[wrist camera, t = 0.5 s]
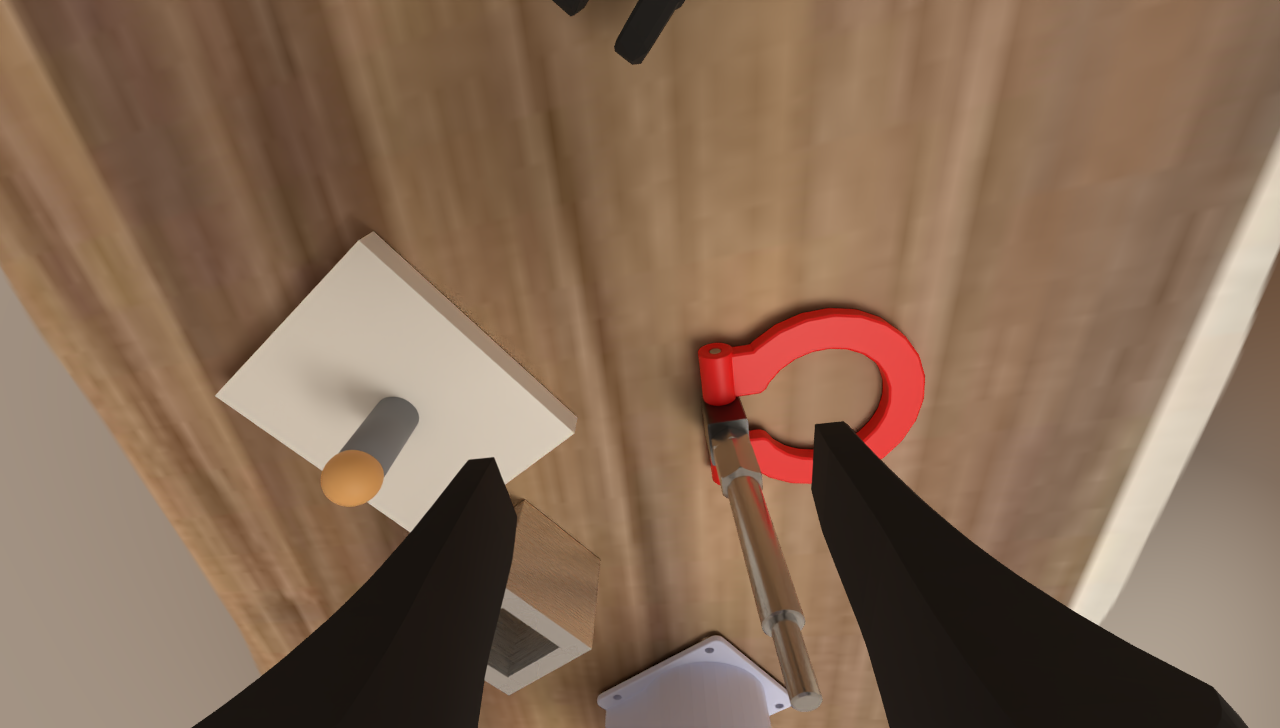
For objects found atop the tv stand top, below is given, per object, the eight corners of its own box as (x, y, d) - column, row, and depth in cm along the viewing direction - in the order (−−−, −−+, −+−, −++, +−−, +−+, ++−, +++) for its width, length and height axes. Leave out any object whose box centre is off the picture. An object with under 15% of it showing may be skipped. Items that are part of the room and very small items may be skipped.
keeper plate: (434, 525, 28) (382, 637, 22) (233, 381, 24) (113, 474, 19) (577, 417, 25) (557, 518, 19) (373, 231, 21) (276, 291, 15)
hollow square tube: (528, 604, 31) (508, 695, 26) (453, 550, 29) (417, 639, 24) (600, 559, 29) (592, 649, 25) (525, 499, 27) (501, 584, 23)
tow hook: (921, 288, 22) (690, 323, 23) (1239, 525, 11) (765, 588, 11) (904, 454, 26) (709, 482, 27) (1124, 754, 15) (778, 795, 15)
